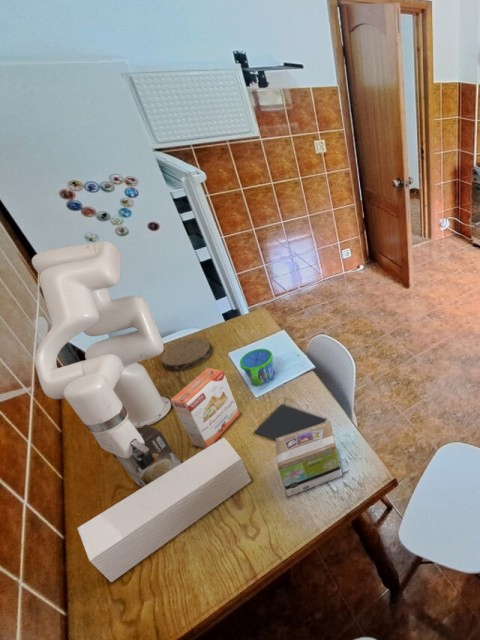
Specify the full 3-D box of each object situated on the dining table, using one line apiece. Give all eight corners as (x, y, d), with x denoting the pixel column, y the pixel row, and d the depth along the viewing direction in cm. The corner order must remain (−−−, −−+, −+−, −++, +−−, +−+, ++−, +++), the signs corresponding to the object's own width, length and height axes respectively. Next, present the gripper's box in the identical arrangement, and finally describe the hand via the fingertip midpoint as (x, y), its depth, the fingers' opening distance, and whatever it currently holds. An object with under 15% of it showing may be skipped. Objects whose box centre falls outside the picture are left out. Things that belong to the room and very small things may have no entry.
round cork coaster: (173, 346, 159) (171, 340, 157) (217, 341, 162) (214, 335, 161) (156, 373, 146) (153, 367, 144) (203, 367, 149) (201, 361, 148)
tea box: (288, 498, 108) (276, 467, 100) (285, 468, 116) (273, 437, 108) (343, 476, 114) (335, 445, 107) (337, 449, 122) (329, 418, 114)
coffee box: (168, 457, 117) (147, 422, 109) (182, 465, 115) (162, 430, 107) (135, 484, 110) (109, 449, 101) (150, 493, 108) (125, 458, 99)
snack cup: (273, 391, 141) (266, 371, 135) (241, 395, 138) (233, 375, 133) (281, 362, 154) (276, 342, 148) (252, 365, 151) (246, 345, 146)
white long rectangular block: (234, 459, 117) (224, 437, 112) (251, 481, 112) (241, 458, 106) (98, 550, 95) (77, 527, 90) (111, 582, 90) (89, 560, 84)
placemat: (254, 432, 126) (254, 431, 125) (281, 405, 136) (281, 404, 135) (300, 449, 121) (300, 448, 121) (325, 419, 131) (324, 419, 131)
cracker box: (209, 449, 120) (185, 403, 109) (192, 445, 121) (167, 399, 110) (241, 414, 132) (223, 369, 121) (226, 410, 133) (206, 366, 122)
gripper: (65, 419, 95) (97, 461, 104) (114, 440, 91) (144, 482, 100) (99, 397, 101) (127, 438, 110) (147, 415, 97) (172, 457, 106)
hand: (135, 459), depth 105 cm, fingers open, 9 cm apart
